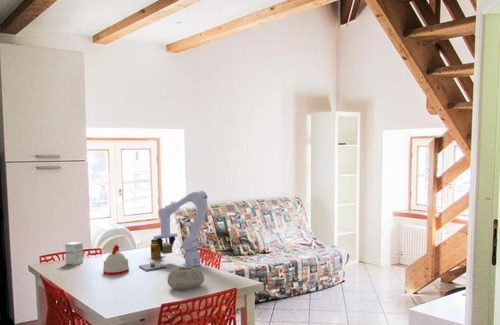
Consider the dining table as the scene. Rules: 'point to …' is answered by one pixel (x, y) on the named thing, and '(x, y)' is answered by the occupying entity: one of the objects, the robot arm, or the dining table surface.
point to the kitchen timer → (115, 263)
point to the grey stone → (185, 278)
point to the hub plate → (152, 266)
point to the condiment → (155, 250)
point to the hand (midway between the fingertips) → (166, 250)
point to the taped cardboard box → (166, 248)
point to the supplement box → (74, 253)
